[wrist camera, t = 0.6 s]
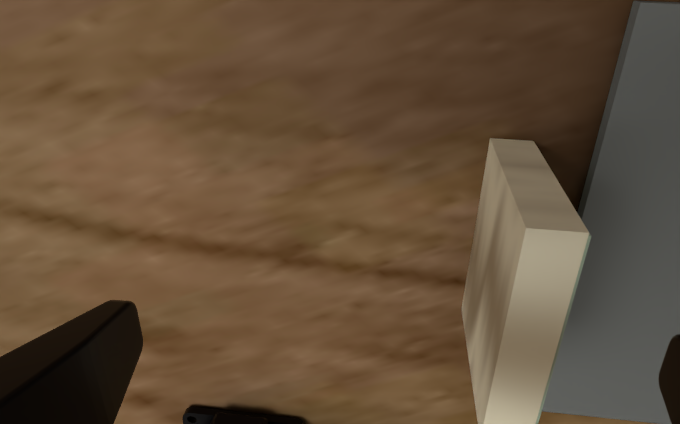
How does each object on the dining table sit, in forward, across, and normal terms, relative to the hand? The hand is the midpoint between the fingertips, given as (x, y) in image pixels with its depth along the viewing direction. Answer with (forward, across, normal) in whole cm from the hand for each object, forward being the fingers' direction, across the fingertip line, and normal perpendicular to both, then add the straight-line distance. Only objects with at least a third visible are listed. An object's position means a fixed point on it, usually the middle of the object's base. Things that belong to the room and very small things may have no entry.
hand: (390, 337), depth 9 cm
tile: (+13, -4, +5) cm, 14 cm away
